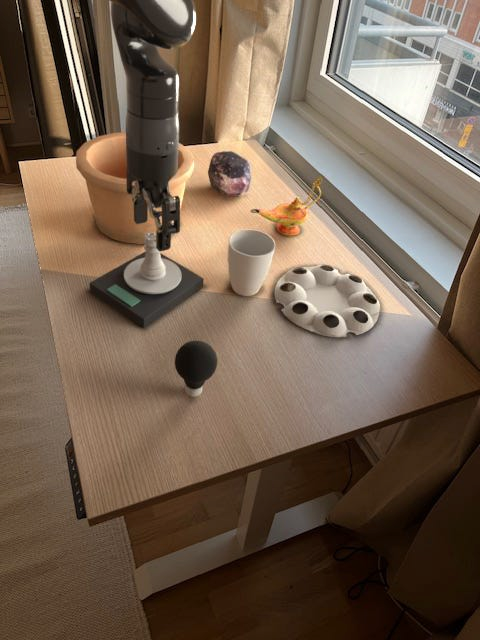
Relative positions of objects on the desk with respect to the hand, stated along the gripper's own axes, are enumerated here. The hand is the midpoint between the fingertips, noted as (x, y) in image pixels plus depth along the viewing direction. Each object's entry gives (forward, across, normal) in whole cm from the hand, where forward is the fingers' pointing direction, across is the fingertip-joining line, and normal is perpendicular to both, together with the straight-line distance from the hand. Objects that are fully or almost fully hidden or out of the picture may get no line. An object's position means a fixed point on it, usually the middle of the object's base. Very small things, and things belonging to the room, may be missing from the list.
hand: (151, 235), depth 85 cm
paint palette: (+11, +17, +27) cm, 34 cm away
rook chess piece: (+8, 0, 0) cm, 8 cm away
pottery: (+11, -20, +6) cm, 24 cm away
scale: (+11, 0, -1) cm, 11 cm away
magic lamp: (+11, -6, +33) cm, 35 cm away
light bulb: (+11, +25, -5) cm, 28 cm away
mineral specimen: (+11, -24, +31) cm, 40 cm away
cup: (+11, +7, +15) cm, 20 cm away
